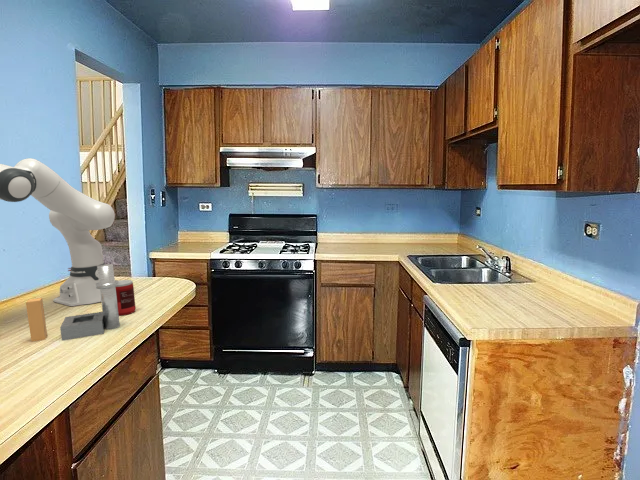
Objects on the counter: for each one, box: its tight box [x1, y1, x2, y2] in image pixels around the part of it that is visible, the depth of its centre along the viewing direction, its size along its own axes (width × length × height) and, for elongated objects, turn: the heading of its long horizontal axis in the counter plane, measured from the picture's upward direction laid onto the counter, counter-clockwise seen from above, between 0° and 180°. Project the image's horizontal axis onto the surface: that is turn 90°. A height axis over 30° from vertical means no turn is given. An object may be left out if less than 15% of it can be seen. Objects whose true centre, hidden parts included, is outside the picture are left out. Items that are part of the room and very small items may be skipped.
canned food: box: [116, 279, 137, 317], centre depth 149 cm, size 8×8×11 cm
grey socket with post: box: [59, 263, 121, 341], centre depth 131 cm, size 16×11×20 cm
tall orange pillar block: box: [25, 297, 48, 343], centre depth 126 cm, size 4×4×12 cm
